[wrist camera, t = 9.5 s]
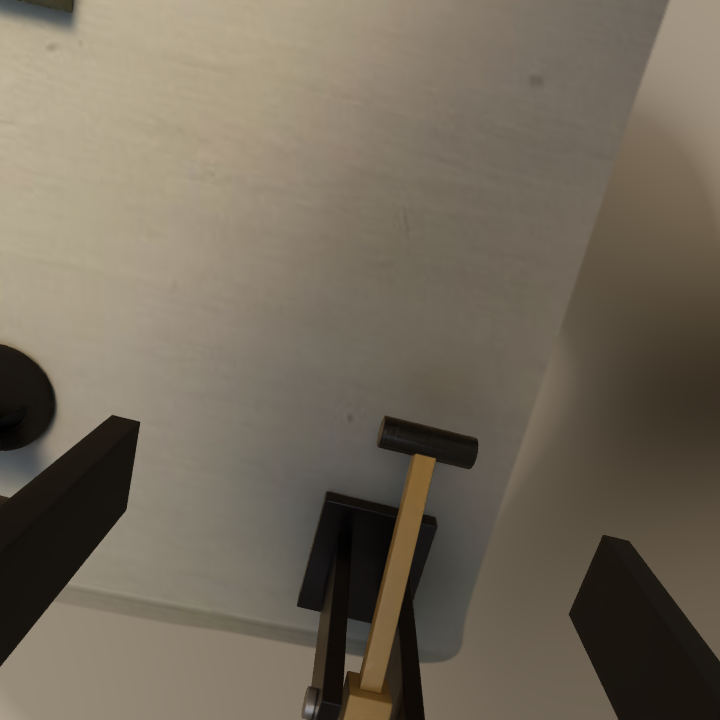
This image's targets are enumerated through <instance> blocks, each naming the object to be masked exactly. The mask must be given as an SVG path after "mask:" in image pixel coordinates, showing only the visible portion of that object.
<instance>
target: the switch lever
mask: <svg viewBox="0 0 720 720" xmlns="http://www.w3.org/2000/svg"><path fill="white" fill-rule="evenodd" d="M377 447H379V448H383V449H387V450H391V451H395V452H399V453H404V454H408V455H412V456H411V461H410V465H409V469H408V473H407V477H406V482H405V486H404V490H403V494H402V498H401V503H400V507H399V511H398V515H397V519H396V524H395V528H394V532H393V536H392V540H391V545H390V549H389V553H388V557H387V561H386V566H385V570H384V574H383V578H382V582H381V587H380V591H379V595H378V599H377V604H376V608H375V612H374V616H373V620H372V625H371V629H370V633H369V637H368V641H367V646H366V650H365V654H364V658H363V663H362V667H361V671H360V673H355V672H351V671H348V672H347V675H346V679H345V683H344V687H343V699H342V707H341V711H340V714H339V717H338V720H389V719H390V715H391V711H392V707H393V704H392V699H391V694H390V690H389V685H388V680H386V679H384V678H385V674H386V669H387V665H388V661H389V657H390V652H391V648H392V644H393V640H394V635H395V631H396V627H397V623H398V618H399V614H400V610H401V605H402V601H403V597H404V593H405V588H406V584H407V580H408V576H409V571H410V567H411V563H412V559H413V554H414V550H415V546H416V542H417V537H418V533H419V529H420V525H421V520H422V516H423V512H424V507H425V503H426V499H427V495H428V490H429V486H430V482H431V478H432V473H433V469H434V465H435V461H436V462H440V463H445V464H449V465H453V466H457V467H461V468H465V469H471V468H472V467H473V465H474V463H475V461H476V458H477V454H478V440H477V438H474V437H470V436H466V435H462V434H458V433H454V432H450V431H446V430H442V429H438V428H434V427H430V426H426V425H422V424H418V423H414V422H410V421H406V420H401V419H397V418H393V417H389V416H384V417H383V419H382V422H381V425H380V429H379V434H378V439H377Z"/></svg>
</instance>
